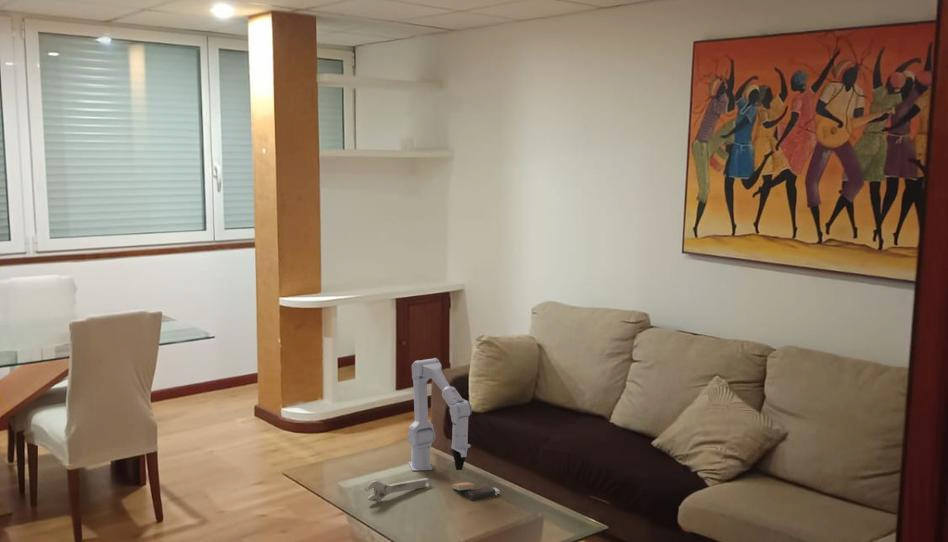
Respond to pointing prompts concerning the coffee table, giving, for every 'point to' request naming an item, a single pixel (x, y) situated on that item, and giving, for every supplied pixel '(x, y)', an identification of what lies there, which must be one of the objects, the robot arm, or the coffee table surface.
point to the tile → (463, 486)
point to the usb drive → (481, 493)
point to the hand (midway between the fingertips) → (458, 469)
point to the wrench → (393, 488)
